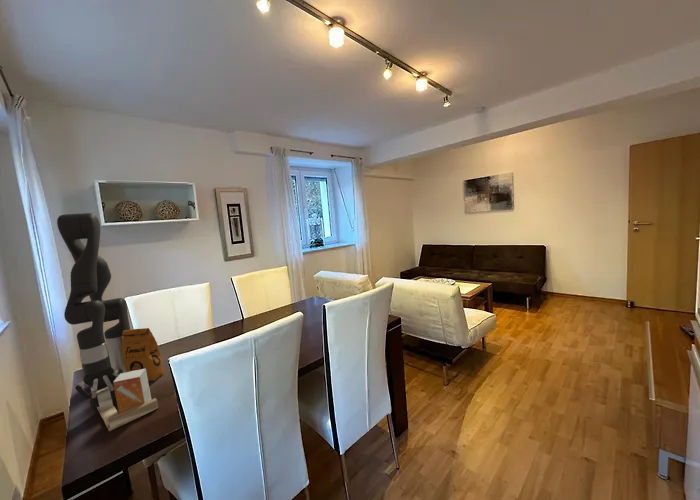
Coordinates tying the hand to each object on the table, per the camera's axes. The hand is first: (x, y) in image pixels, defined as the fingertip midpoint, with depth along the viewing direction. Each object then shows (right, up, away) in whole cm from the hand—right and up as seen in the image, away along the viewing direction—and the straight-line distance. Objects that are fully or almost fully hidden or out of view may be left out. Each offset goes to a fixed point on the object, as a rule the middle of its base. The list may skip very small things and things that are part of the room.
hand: (104, 403), depth 110 cm
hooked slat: (+4, -2, +3) cm, 6 cm away
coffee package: (+1, 0, +21) cm, 21 cm away
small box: (+12, -2, -1) cm, 12 cm away
